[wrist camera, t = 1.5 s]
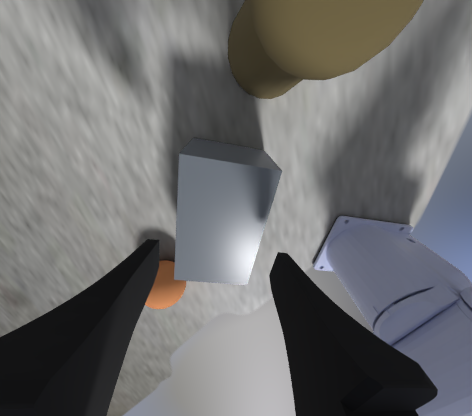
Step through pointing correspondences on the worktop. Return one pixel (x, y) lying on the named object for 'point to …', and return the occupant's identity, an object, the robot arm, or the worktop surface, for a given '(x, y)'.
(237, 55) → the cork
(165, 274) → the ball
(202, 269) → the grey rectangular block
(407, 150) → the worktop surface
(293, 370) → the robot arm
